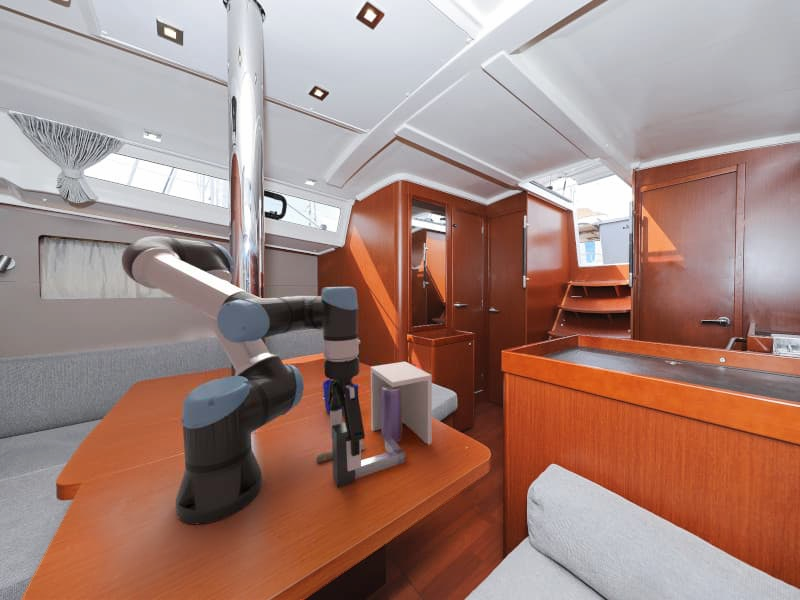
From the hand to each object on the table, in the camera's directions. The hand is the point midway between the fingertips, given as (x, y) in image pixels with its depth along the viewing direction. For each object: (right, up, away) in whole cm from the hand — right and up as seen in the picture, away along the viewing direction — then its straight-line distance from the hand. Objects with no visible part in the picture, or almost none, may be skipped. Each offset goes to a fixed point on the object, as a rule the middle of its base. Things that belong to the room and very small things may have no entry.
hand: (344, 451), depth 63 cm
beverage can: (+10, -6, +18) cm, 21 cm away
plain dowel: (-3, -5, +11) cm, 12 cm away
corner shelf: (+12, -5, +18) cm, 23 cm away
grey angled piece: (+4, -6, +5) cm, 10 cm away
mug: (-8, -5, +35) cm, 36 cm away
